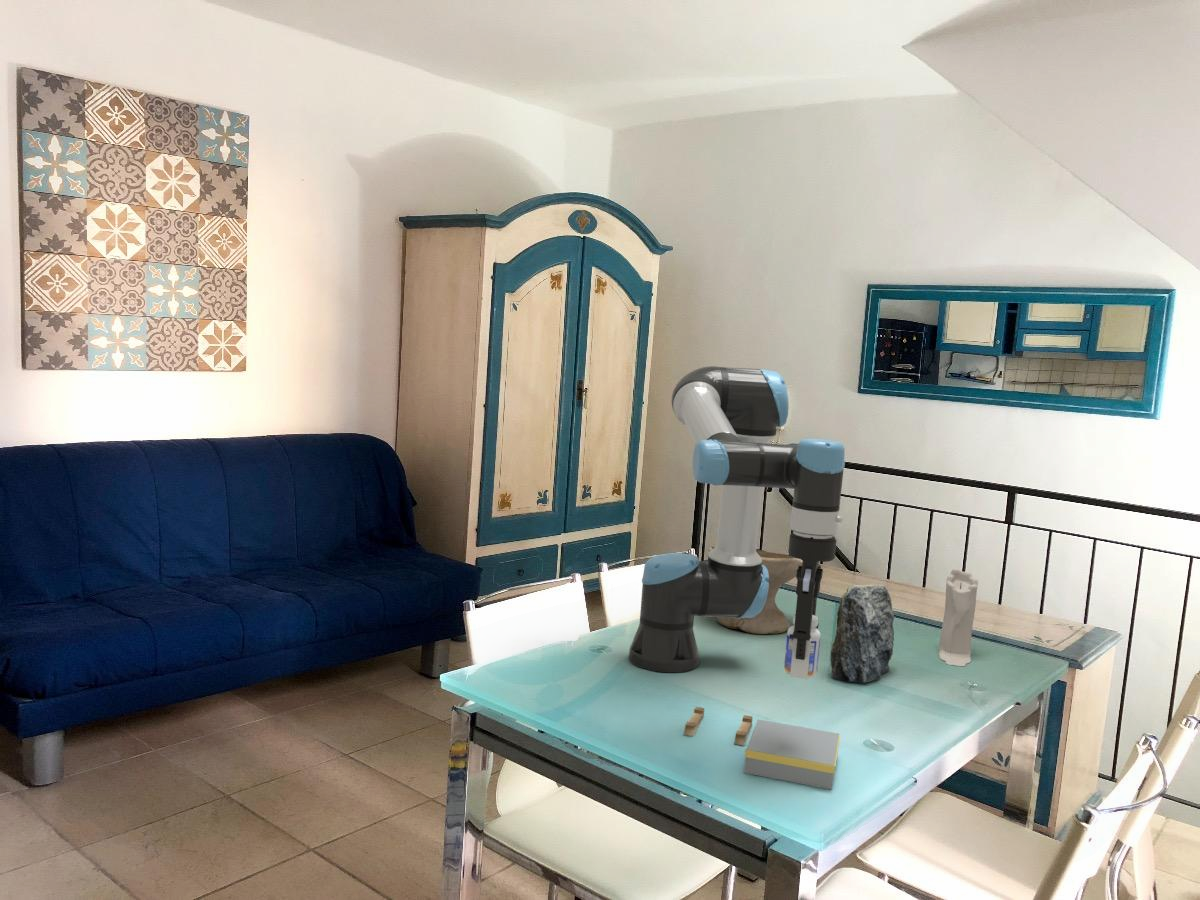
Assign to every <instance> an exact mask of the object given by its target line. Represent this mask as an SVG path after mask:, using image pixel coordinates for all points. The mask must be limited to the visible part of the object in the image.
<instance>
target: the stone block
mask: <svg viewBox="0 0 1200 900" xmlns="http://www.w3.org/2000/svg"><path fill="white" fill-rule="evenodd" d="M837 609H838V610H837V612H836V616H837V617H836V630H835V636H834V639H833V643H832V646H831V650H830V667H831V674H832V676H831V677H830V678H831V679H834V680H839V681H843V682H847V683H849V682H851V683H853V682H854V683H863V684H864V683H865V684H866V683H869V682H872V681H875V680H879V679H881V678H882V675H883V674H885V673H887V672H888V671H889V669H890V666H889V662H890V661H891V660H892V655H893V654H894V650H893V649H894V646H895V645H894V641H895V630H894V620H895V618H894V617H895V616H894V611H893V604H892V597H891V595H890V593H889V591H888V589H887V587H886V586H885V585H884V584H875V583H874V584H873V583H872V584H862V585H861V584H860V585H857V584H853V585H850V586H849V587H848V588H846V592H844V593H843V594H842V596H841V599H840V602H839V605H838V608H837Z"/></svg>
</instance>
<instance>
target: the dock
mask: <svg viewBox="0 0 1200 900" xmlns="http://www.w3.org/2000/svg"><path fill="white" fill-rule="evenodd" d="M840 738H841V734H840V733H838V732H832V731H828V730H827V731H826V730H821V729H815V728H809V727H803V726H800V725H799V726H798V725H792V724H787V723H780V722H775V721H768V720H763V719H759V718H758V719H757V721H756V723H755V726H754V728H753V731H752V733H751V736H750V737H749V741H748V743H747V747H746V749H745V753H744V758H745V759H744V770H743V773H744V774H749V775H754V776H759V777H764V778H769V779H775V780H781V781H786V782H791V783H797V784H802V785H805V786H811V787H817V788H822V789H827V790H833V783H834V777H835V771H836V766H837V765H836V764H837V759H838V752H839V746H840Z"/></svg>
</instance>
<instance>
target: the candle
mask: <svg viewBox="0 0 1200 900" xmlns="http://www.w3.org/2000/svg"><path fill="white" fill-rule="evenodd" d="M978 584H979V580H978V579H977V578H974V577H973V576H972V574H971V573H970V572H966V571H962V570H959V569H955V568H954V569H952V570H951V571H950V574H949V575H948V576H947V577H946V584H945V599H944V600H945V602H944V613H943V619H942V625H941V632H940V636H939V637H940V638H939V644H938V645H939V646H938V657H939V659H940V660H941V661H942V662H945V664H946V665H948V666H949V665H950V666H957V667H965V666H966V665H968V664H970V663H971V661H972V657H971V656H972V634H973V626H974V625H973V624H974V619H975V613H976V612H975V611H976V604H977V594H978V593H977V592H978Z"/></svg>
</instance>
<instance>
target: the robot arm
mask: <svg viewBox="0 0 1200 900" xmlns="http://www.w3.org/2000/svg"><path fill="white" fill-rule="evenodd" d="M789 407H790V406H789V394H788V387H787V385H786V381H785V380H784V378H783V376H782V375H781V374H780V373H779V372H777V371H775V370H767V369H762V368H749V367H748V368H746V367H745V368H744V367H723V366H717V365H716V366H714V365H713V366H712V365H710V366H703V367H699V368H697V369H694V370H691V371H690V372H689V373H687V374H685V375H684V376H683V377H682V378H681V379H679V381H678V382H677V383H676V384H675V387H674V388H673V391H672V395H671V408H672V411H673V413H674V415H675V418H677V420H678V421H679V422H680V423H682V425H685V426H686V428H687V431H688V432H689V434H690V437H691V439H692V441H693V443H694V449H693V455H692V472H693V474H692V475H693V478H694V480H696V482H698V483H700V484H706V485H707V484H708V485H709V484H710V485H713V486H722V487H721V496H720V497H721V498H720V506H719V516H718V527H717V537H716V544H715V545H716V546H715V547H714V549H713V550H711V551H710V552H709V551H708V556H707V561H706V562H705V561H704V562H701V561H700V560H699V557H698V555H696V554H693V553H683V552H670V553H664V554H663V553H662V554H657V555H655V556H652V557H650V558H649V559H648V560H647V561H646V562H645V564H644V566H643V572H642V573H643V575H642V578H641V582H642V587H641V588H642V589H641V599H640V600H641V601H640V602H641V603H640V613H639V614H640V615H639V624H638V627H637V629H636V632H635V634H634V637H633V638H632V641H631V644H630V646H629V653H628V660H629V661H630V662H631V663H632V664H633V665H636V666H637V667H639V668H642V669H646V670H650V671H655V672H661V673H685V672H688V671H689V672H690V671H692V670H694V669H696V668H697V667H698V666H699V659H700V653H699V648H698V645H697V642H696V641H697V640H696V636H695V632H694V622H695V621H694V619H695V617H706V618H707V617H709V618H710V617H712V618H717V617H729V618H736V619H739V618H752V617H755V616H757V615H758V614H759V613H760V612H761V611H762V609H763V607H764V605H765V602H766V599H767V595H768V589H769V583H768V580H769V573H768V570H767V568H766V567H765V566H764V565H762V558H761V557H760V556H759V555H758V553H757V552H756V550H757V545H758V535H759V526H760V519H761V510H762V509H761V508H762V499H763V489H764V488H772V489H773V488H777V489H793V498H792V506H791V514H790V527H789V528H790V530H791V531H792V532H791V533H790V534H789V541H788V550H787V551H788V555H790V556H792V557H794V558H797V559H801V560H802V561H803V563H802V566H799V567H798V569H797V575H796V577H795V578H796V581H797V583H796V589H795V594H796V597H797V598H796V604H795V605H796V607H795V614H796V615H795V626H794V632H793V634H790V638H794V640H793V651H792V661H791V672H790V674H789V678H790V677H791V678H796V679H804V680H807V679H808V678H807V676H808V665H809V655H810V644H811V635H810V632H811V623H812V615H815V616H816V611H817V604H818V603H817V602H818V601H817V600H818V597H819V596H818V595H819V593H820V589H821V582H822V578H823V572H824V568H822V567H821V564H820V562H822V563H824V562H826V563H827V562H831V561H833V560H835V557H836V550H837V549H836V548H837V539H836V537H835V535H837V533H838V523H842V522H843V517H842V516H841V515H840V516H838V515H839V513H840V505H841V497H842V496H841V495H842V489H843V488H842V486H843V479H844V478H843V477H844V469H845V465H846V462H845V450H846V449H845V448H846V447H845V446H844V444H843V443H842V442H841V441H838V440H831V439H825V438H803V439H801V440H800V441H799V442H798V443H794V442H792V443H791V442H789V443H785V444H782V443H781V444H780V443H779V444H778V443H769V442H771V440H773V439H775V437H776V436H777V428H782V427H784V426H785V425H786V423H787V419H788V417H789ZM816 629H817V630H819V622H818V625H817V627H816Z"/></svg>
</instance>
